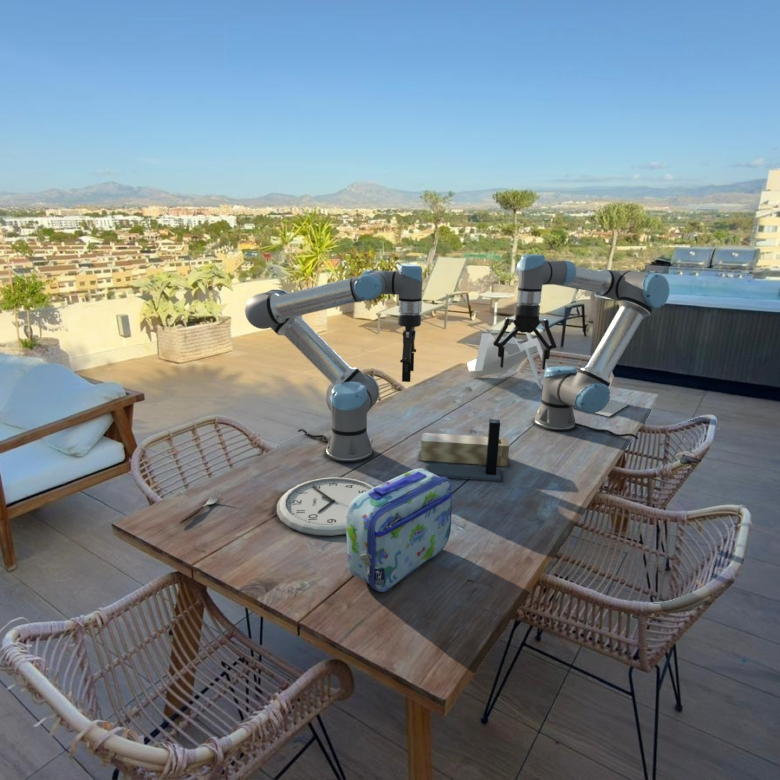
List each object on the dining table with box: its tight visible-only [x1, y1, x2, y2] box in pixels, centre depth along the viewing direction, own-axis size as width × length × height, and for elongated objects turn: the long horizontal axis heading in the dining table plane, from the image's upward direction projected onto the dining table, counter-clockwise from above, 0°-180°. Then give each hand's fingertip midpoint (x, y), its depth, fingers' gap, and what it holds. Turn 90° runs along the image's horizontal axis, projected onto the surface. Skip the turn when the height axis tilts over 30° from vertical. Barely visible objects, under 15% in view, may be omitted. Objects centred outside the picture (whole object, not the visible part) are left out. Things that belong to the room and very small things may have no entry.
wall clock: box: [276, 476, 376, 537], centre depth 142 cm, size 30×2×30 cm
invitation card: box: [595, 399, 629, 418], centre depth 226 cm, size 21×1×15 cm
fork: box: [178, 489, 223, 525], centre depth 139 cm, size 3×16×2 cm, turn 160°
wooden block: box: [420, 432, 510, 467], centre depth 172 cm, size 28×7×7 cm, turn 83°
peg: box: [485, 418, 501, 475], centre depth 159 cm, size 3×3×17 cm
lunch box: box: [345, 467, 453, 593], centre depth 115 cm, size 26×11×21 cm, turn 135°
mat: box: [428, 463, 502, 482], centre depth 162 cm, size 22×7×1 cm, turn 83°
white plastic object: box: [466, 332, 549, 390], centre depth 259 cm, size 37×45×31 cm
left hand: (407, 376), depth 177 cm, fingers open, 13 cm apart
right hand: (522, 367), depth 175 cm, fingers open, 13 cm apart
